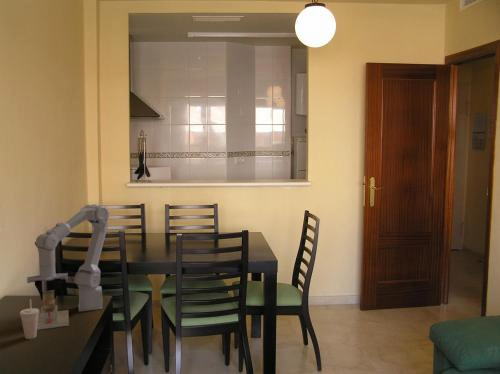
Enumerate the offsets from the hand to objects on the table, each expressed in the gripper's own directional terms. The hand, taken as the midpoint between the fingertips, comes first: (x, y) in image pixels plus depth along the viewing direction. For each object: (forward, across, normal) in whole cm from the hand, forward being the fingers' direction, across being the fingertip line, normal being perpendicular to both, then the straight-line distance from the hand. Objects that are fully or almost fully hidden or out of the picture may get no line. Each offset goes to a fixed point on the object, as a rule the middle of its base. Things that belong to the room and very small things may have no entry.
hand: (48, 298), depth 181 cm
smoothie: (+10, -6, -13) cm, 17 cm away
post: (+5, 0, 0) cm, 5 cm away
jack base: (+9, 0, 0) cm, 9 cm away
